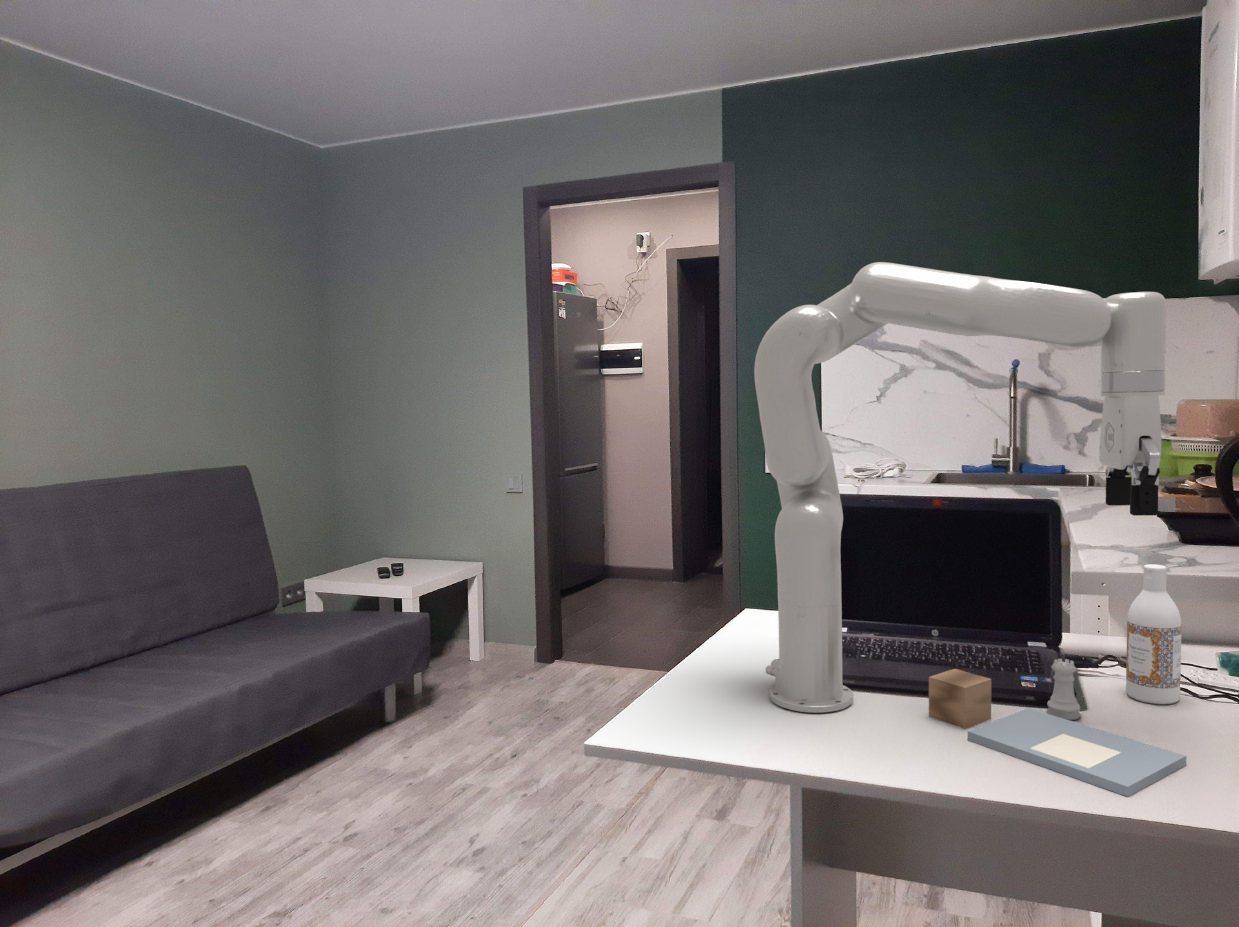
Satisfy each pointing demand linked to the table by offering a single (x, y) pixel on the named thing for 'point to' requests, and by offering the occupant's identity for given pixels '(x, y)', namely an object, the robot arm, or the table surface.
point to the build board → (1079, 750)
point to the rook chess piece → (1063, 692)
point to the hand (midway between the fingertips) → (1130, 509)
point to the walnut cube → (960, 698)
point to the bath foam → (1154, 642)
